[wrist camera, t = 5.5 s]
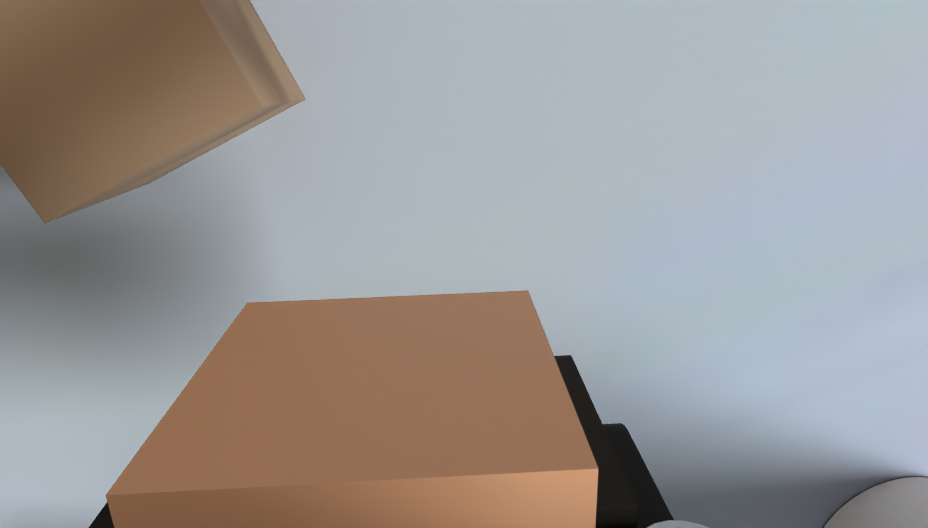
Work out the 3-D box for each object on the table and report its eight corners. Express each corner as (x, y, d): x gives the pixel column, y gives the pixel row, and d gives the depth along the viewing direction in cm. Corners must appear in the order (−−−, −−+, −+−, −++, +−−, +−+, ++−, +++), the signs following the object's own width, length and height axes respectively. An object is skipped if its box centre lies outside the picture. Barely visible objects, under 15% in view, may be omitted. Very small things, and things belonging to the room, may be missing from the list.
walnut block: (31, 9, 16) (-138, -22, 11) (200, -87, 15) (103, -163, 11) (149, 183, 17) (44, 222, 12) (306, 98, 17) (261, 106, 12)
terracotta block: (247, 302, 11) (105, 495, 6) (527, 290, 11) (598, 469, 6) (282, 529, 13) (191, 818, 8) (526, 515, 13) (581, 788, 8)
